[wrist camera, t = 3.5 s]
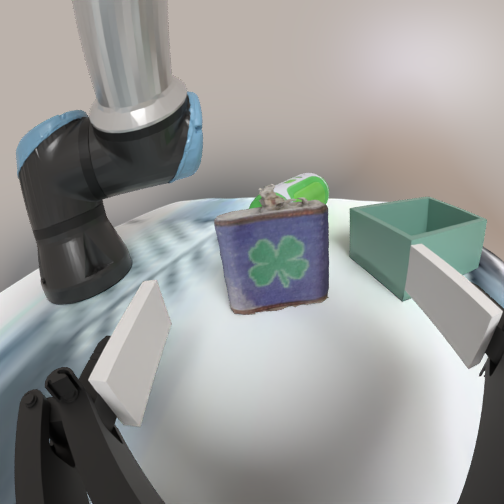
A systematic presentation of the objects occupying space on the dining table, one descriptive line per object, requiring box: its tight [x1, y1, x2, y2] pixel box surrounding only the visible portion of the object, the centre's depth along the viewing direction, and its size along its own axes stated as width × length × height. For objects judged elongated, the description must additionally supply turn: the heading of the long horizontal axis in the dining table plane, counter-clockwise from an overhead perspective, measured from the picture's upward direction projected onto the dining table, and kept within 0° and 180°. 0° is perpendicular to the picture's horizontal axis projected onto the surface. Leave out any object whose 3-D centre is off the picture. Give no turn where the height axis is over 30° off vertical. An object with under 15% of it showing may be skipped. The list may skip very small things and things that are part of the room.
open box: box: [350, 197, 487, 301], centre depth 26 cm, size 10×13×6 cm
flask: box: [214, 184, 329, 315], centre depth 23 cm, size 9×3×11 cm, turn 94°
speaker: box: [249, 173, 329, 209], centre depth 43 cm, size 18×7×8 cm, turn 147°
